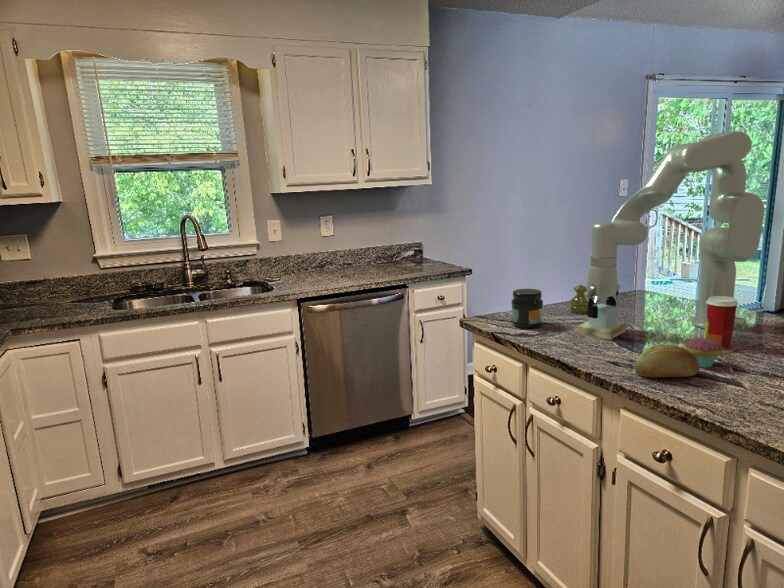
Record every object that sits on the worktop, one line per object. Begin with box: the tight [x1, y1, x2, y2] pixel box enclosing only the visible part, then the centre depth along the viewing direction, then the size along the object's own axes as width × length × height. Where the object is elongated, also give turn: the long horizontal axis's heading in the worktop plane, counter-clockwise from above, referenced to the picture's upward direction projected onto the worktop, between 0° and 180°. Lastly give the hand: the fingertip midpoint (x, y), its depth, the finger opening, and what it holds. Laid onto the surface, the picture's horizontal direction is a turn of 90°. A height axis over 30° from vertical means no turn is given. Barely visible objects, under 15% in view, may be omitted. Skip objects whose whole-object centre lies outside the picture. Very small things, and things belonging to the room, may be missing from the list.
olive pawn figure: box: [569, 284, 588, 315], centre depth 190 cm, size 7×7×10 cm
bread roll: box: [634, 344, 701, 378], centre depth 127 cm, size 10×15×8 cm, turn 84°
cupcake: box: [683, 319, 723, 368], centre depth 133 cm, size 9×8×12 cm
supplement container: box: [510, 288, 544, 329], centre depth 176 cm, size 10×10×12 cm
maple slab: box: [576, 320, 627, 340], centre depth 165 cm, size 11×11×3 cm
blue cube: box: [588, 303, 618, 329], centre depth 164 cm, size 6×6×6 cm
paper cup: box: [706, 296, 739, 350], centre depth 145 cm, size 8×8×14 cm
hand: (601, 314), depth 164 cm, fingers open, 9 cm apart
